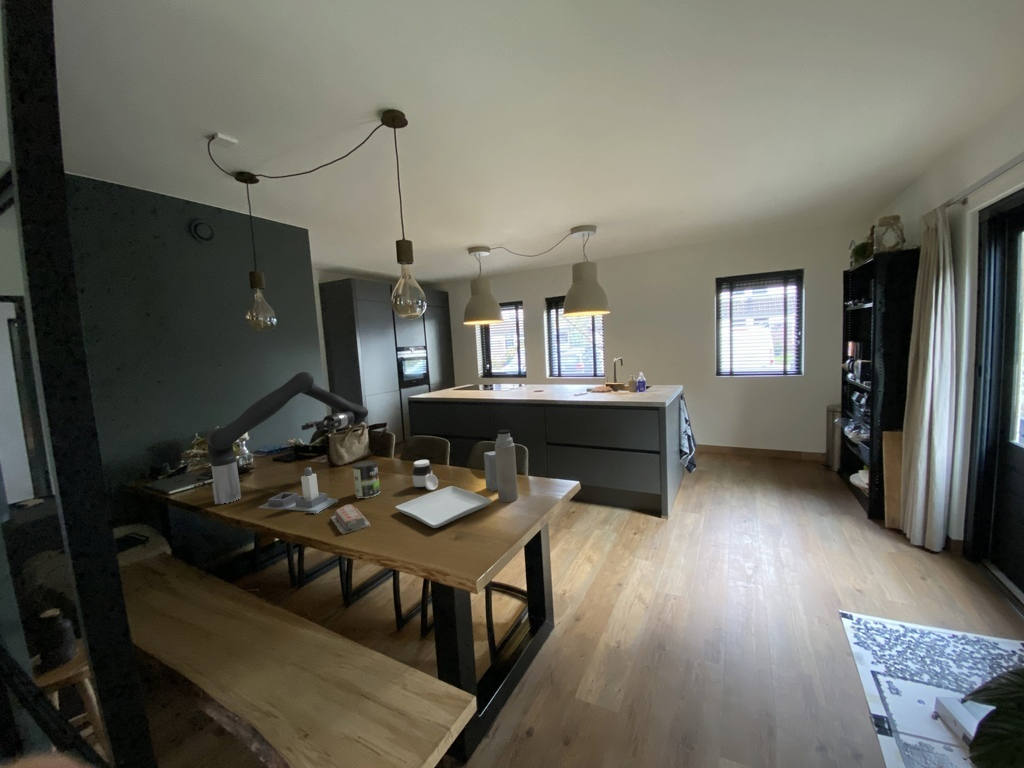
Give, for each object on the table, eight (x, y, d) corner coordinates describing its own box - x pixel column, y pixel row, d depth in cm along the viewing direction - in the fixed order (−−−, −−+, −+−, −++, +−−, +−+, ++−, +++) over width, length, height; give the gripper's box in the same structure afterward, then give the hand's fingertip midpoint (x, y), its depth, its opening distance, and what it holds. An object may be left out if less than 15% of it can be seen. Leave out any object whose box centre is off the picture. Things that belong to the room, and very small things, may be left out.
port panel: (285, 511, 165) (284, 500, 165) (308, 500, 177) (307, 490, 176) (317, 514, 160) (315, 503, 160) (338, 502, 172) (337, 491, 171)
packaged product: (369, 514, 146) (340, 523, 140) (371, 527, 146) (342, 536, 140) (356, 500, 160) (329, 507, 155) (357, 512, 161) (330, 519, 155)
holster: (257, 509, 169) (256, 501, 169) (285, 497, 182) (284, 489, 182) (283, 511, 165) (282, 503, 165) (309, 498, 178) (308, 491, 178)
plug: (304, 504, 167) (300, 469, 166) (311, 501, 171) (307, 466, 169) (312, 505, 166) (307, 469, 164) (319, 501, 170) (315, 466, 168)
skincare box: (491, 492, 172) (489, 455, 170) (485, 487, 178) (482, 452, 176) (509, 487, 175) (507, 452, 174) (502, 483, 182) (499, 448, 180)
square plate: (451, 493, 175) (451, 484, 174) (494, 508, 155) (493, 499, 155) (394, 514, 156) (393, 504, 156) (434, 535, 137) (433, 524, 136)
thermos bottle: (505, 493, 169) (500, 427, 166) (521, 496, 165) (517, 428, 162) (494, 500, 162) (489, 432, 160) (511, 503, 158) (506, 433, 155)
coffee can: (384, 490, 183) (381, 459, 182) (373, 498, 173) (369, 466, 172) (363, 490, 185) (360, 460, 183) (351, 498, 175) (347, 467, 173)
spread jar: (419, 483, 190) (417, 458, 188) (442, 482, 188) (440, 458, 187) (409, 492, 178) (407, 466, 177) (434, 492, 176) (432, 466, 175)
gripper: (323, 413, 200) (296, 419, 185) (346, 413, 195) (321, 420, 180) (325, 428, 201) (298, 436, 186) (348, 429, 196) (322, 436, 181)
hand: (309, 428), depth 183 cm, fingers open, 8 cm apart
